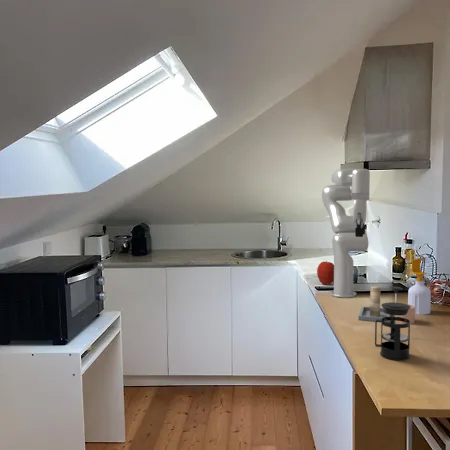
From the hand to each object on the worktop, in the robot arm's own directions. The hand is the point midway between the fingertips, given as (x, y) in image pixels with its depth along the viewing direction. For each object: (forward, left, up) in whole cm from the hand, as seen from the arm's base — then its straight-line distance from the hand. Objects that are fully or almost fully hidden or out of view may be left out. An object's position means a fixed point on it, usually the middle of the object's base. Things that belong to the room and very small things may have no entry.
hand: (360, 235), depth 216 cm
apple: (-47, -22, -34) cm, 62 cm away
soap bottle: (0, +25, -34) cm, 42 cm away
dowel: (+13, +8, -32) cm, 36 cm away
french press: (+56, +16, -34) cm, 67 cm away
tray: (+13, +8, -33) cm, 37 cm away
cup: (+17, +20, -33) cm, 42 cm away
